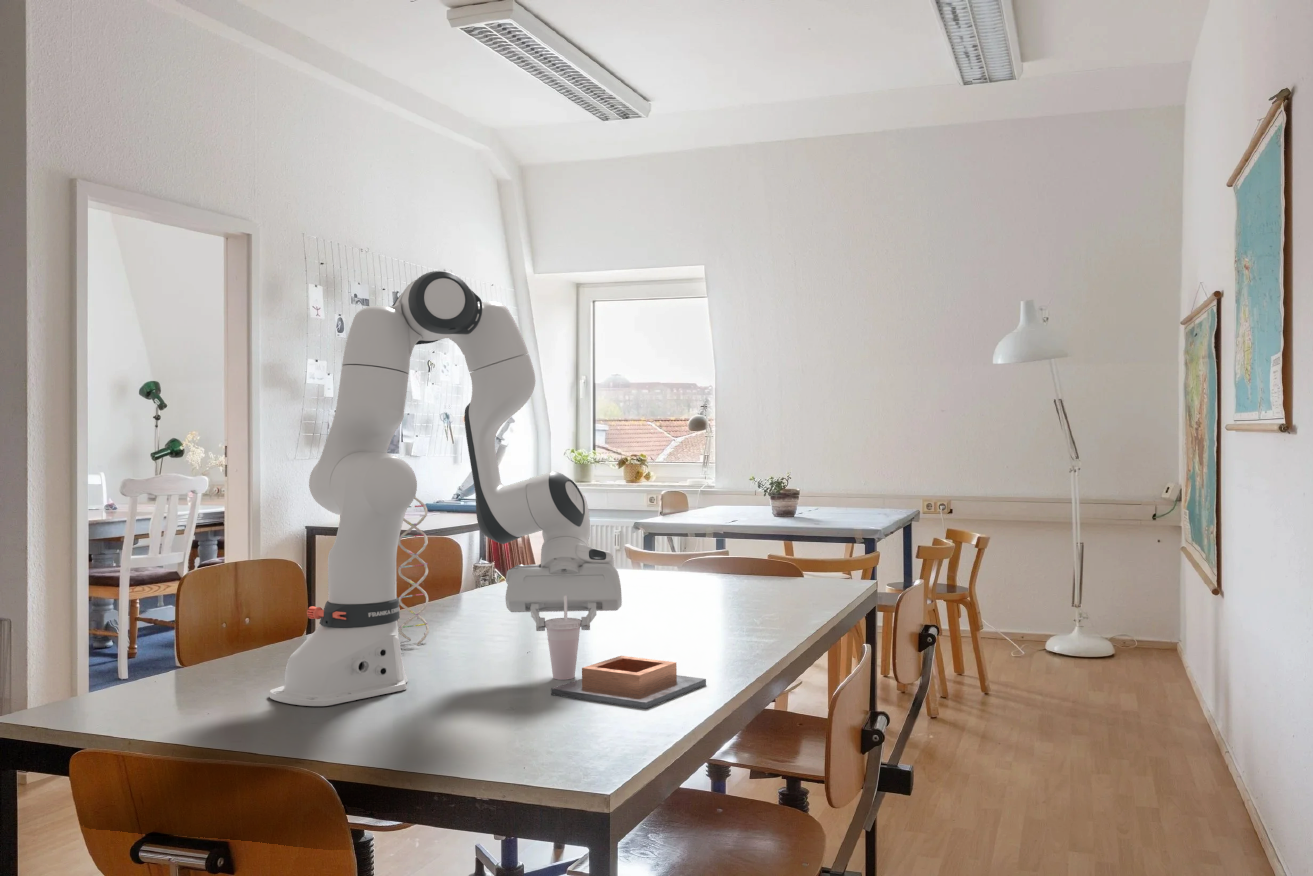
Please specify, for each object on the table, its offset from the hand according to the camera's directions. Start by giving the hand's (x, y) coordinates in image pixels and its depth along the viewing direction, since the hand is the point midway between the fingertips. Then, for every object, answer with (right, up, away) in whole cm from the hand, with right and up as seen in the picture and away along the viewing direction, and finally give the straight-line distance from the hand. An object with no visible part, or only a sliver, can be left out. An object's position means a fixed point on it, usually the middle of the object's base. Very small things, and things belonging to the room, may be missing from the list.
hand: (563, 628), depth 179 cm
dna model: (-33, -9, +34) cm, 48 cm away
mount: (+12, -8, -9) cm, 17 cm away
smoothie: (0, -9, +1) cm, 9 cm away
